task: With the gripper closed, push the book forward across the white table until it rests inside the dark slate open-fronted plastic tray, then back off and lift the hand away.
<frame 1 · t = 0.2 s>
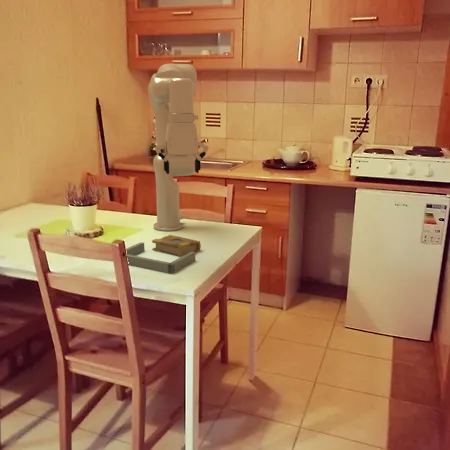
hand: (182, 172, 158), 31 cm above the table, tool pointing down, fingers open, 9 cm apart
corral: (156, 260, 167), on the table
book: (177, 251, 178), on the table
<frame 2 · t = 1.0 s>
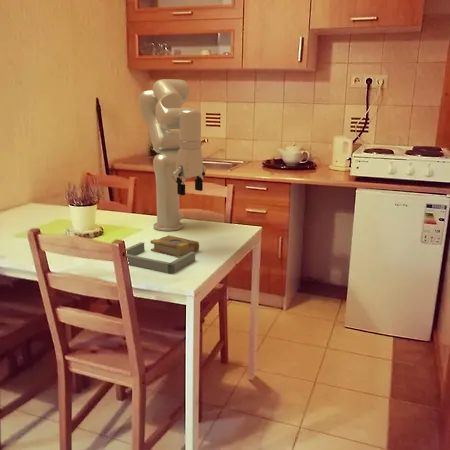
hand: (190, 192, 177), 21 cm above the table, tool pointing down, fingers open, 9 cm apart
nothing on the table moved.
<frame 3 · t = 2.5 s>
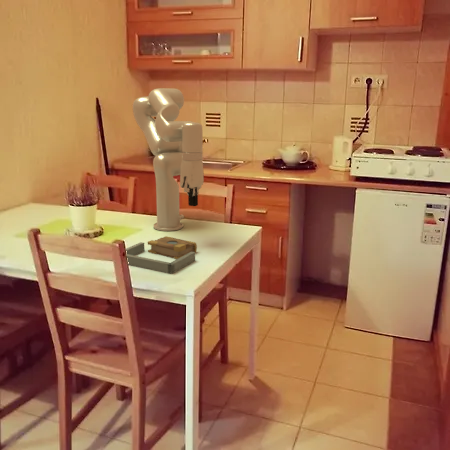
hand: (193, 205, 183), 15 cm above the table, tool pointing down, fingers closed
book: (173, 253, 176), on the table
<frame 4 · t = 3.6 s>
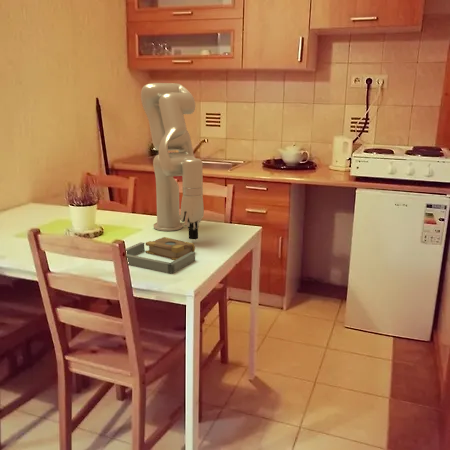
hand: (193, 238, 187), 2 cm above the table, tool pointing down, fingers closed
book: (171, 254, 175), on the table
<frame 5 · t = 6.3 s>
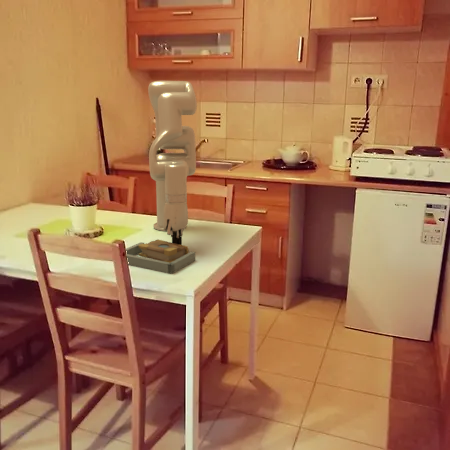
hand: (176, 247, 178), 1 cm above the table, tool pointing down, fingers closed
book: (164, 257, 172), on the table, touching gripper
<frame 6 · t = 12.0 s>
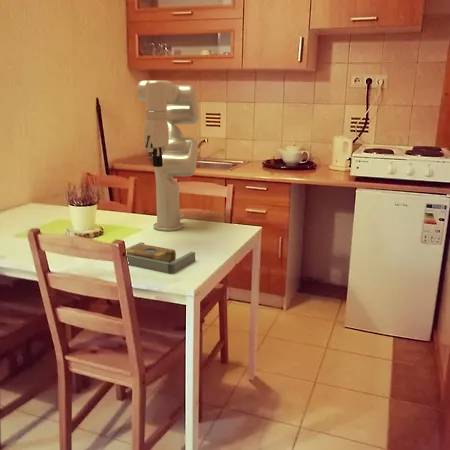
hand: (157, 166, 181), 29 cm above the table, tool pointing down, fingers closed
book: (150, 261, 167), on the table
at the end: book inside the target area on the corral (1.9 cm from its centre), point -0.6 cm above the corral's base; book tilted 0°; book moved 14.7 cm from its start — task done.
